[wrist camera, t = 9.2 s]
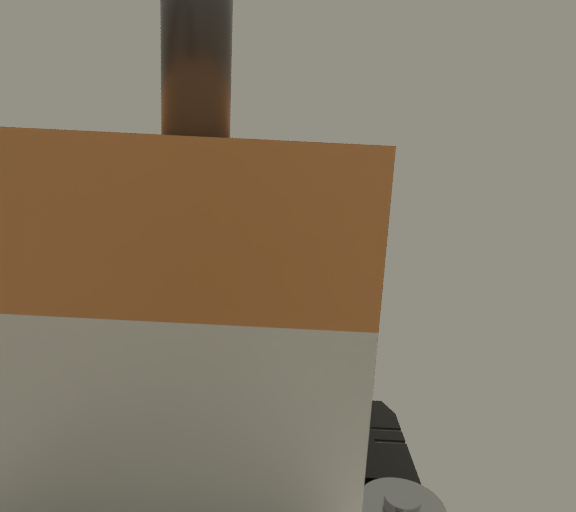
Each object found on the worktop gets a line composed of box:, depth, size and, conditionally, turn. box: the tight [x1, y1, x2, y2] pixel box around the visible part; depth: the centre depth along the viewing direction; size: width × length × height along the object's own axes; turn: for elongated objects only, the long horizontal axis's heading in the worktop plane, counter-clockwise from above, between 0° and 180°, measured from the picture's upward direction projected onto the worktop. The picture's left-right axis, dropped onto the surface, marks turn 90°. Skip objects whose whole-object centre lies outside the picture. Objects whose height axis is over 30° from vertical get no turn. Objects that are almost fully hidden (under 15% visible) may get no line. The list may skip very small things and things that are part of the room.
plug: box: [0, 0, 396, 512], centre depth 9 cm, size 5×5×18 cm
